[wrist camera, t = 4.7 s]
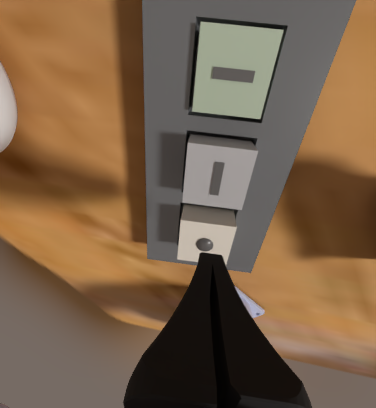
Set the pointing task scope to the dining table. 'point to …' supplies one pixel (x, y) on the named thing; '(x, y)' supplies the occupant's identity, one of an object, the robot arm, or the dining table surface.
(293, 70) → the keypad
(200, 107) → the sage key
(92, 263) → the dining table surface
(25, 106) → the dining table surface
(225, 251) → the cream key
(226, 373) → the robot arm
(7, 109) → the flower in vase
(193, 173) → the grey key
